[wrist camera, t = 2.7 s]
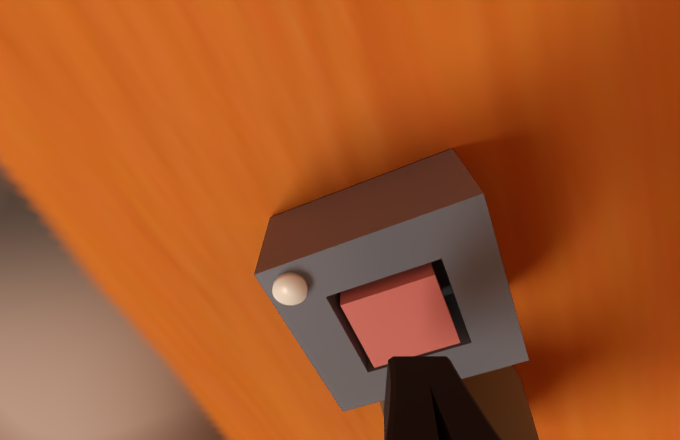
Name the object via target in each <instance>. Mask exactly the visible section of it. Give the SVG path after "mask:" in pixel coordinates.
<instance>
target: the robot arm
mask: <svg viewBox="0 0 680 440" xmlns="http://www.w3.org/2000/svg"><path fill="white" fill-rule="evenodd" d="M384 440H501V438H500V437H499V435H498V434H497V433H496V431H495V430H494V428H493V427H492V426H491V424H490V423H489V421H488V420H487V418H486V417H485V415H484V414H483V412H482V411H481V409H480V408H479V406H478V404H477V403H476V401H475V400H474V398H473V397H472V395H471V394H470V392H469V390H468V389H467V387H466V386H465V384H464V382H463V381H462V379H461V377H460V376H459V374H458V372H457V371H456V369H455V367H454V366H453V364H452V362H451V360H450V359H449V358H448V357H447V356H393V357H392V358H390V359H389V360H388V366H387V378H386V389H385V401H384Z"/></svg>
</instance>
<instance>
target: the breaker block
mask: <svg viewBox="0 0 680 440" xmlns="http://www.w3.org/2000/svg"><path fill="white" fill-rule="evenodd" d="M430 262H432V265H433V267H434V270H435V273H436V275H437V278H438V281H439V283H440V286H441V289H442V291H443V294H444V297H445V300H446V303H447V305H448V308H449V311H450V314H451V317H452V320H453V323H454V326H455V328H456V331H457V334H458V337H459V340H460V343H458V344H455V345H451V346H448V347H444V348H441V349H437V350H434V351H430V352H427V353H424V354H420V355H417V356H447V357H448V358H449V359H450V360H451V362H452V364H453V366H454V367H455V369H456V371H457V372H458V374H459V376H460V377H461V379H463V378H467V377H471V376H474V375H478V374H482V373H485V372H489V371H493V370H496V369H500V368H504V367H507V366H511V365H514V364H518V363H522V362H525V361H529V358H528V355H527V351H526V347H525V343H524V340H523V336H522V332H521V329H520V325H519V321H518V318H517V314H516V310H515V307H514V303H513V299H512V296H511V292H510V288H509V284H508V281H507V277H506V273H505V270H504V266H503V262H502V259H501V255H500V251H499V248H498V244H497V240H496V237H495V233H494V229H493V225H492V222H491V218H490V214H489V211H488V207H487V203H486V200H485V196H484V193H483V191H482V190H481V189H480V187H479V186H478V184H477V183H476V182H475V180H474V179H473V177H472V176H471V174H470V173H469V172H468V170H467V169H466V167H465V166H464V164H463V163H462V162H461V160H460V159H459V157H458V156H457V155H456V153H455V152H454V150H453V149H449V150H447V151H444V152H442V153H439V154H436V155H434V156H431V157H428V158H426V159H423V160H420V161H418V162H415V163H413V164H410V165H407V166H405V167H402V168H399V169H397V170H394V171H391V172H389V173H386V174H384V175H381V176H378V177H376V178H373V179H370V180H368V181H365V182H363V183H360V184H357V185H355V186H352V187H349V188H347V189H344V190H341V191H339V192H336V193H334V194H331V195H328V196H326V197H323V198H320V199H318V200H315V201H313V202H310V203H307V204H305V205H302V206H299V207H297V208H294V209H291V210H289V211H286V212H284V213H281V214H278V215H276V216H273V217H270V220H269V223H268V227H267V230H266V234H265V238H264V241H263V245H262V248H261V252H260V256H259V259H258V263H257V266H256V270H255V273H254V275H255V277H256V278H257V280H258V281H259V283H260V285H261V286H262V288H263V289H264V291H265V292H266V294H267V295H268V297H269V298H270V300H271V301H272V303H273V305H274V306H275V308H276V309H277V311H278V312H279V314H280V315H281V317H282V318H283V320H284V322H285V323H286V325H287V326H288V328H289V329H290V331H291V332H292V334H293V335H294V337H295V339H296V340H297V342H298V343H299V345H300V346H301V348H302V349H303V351H304V352H305V354H306V356H307V357H308V359H309V360H310V362H311V363H312V365H313V366H314V368H315V369H316V371H317V372H318V374H319V376H320V377H321V379H322V380H323V382H324V383H325V385H326V386H327V388H328V389H329V391H330V393H331V394H332V396H333V397H334V399H335V400H336V402H337V403H338V405H339V406H340V408H341V410H342V411H347V410H350V409H354V408H358V407H361V406H365V405H369V404H372V403H376V402H380V401H383V400H385V389H386V378H387V366H388V364H386V365H382V366H379V367H375V368H374V366H373V365H372V363H371V361H370V359H369V357H368V355H367V354H366V352H365V350H364V348H363V346H362V344H361V342H360V341H359V339H358V337H357V335H356V333H355V331H354V330H353V328H352V326H351V324H350V322H349V320H348V319H347V317H346V315H345V313H344V311H343V309H342V308H341V306H340V292H342V291H345V290H348V289H351V288H354V287H357V286H360V285H363V284H367V283H370V282H373V281H376V280H379V279H382V278H385V277H388V276H391V275H394V274H397V273H400V272H403V271H406V270H409V269H412V268H415V267H418V266H421V265H424V264H427V263H430Z"/></svg>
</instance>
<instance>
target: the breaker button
mask: <svg viewBox="0 0 680 440" xmlns="http://www.w3.org/2000/svg"><path fill="white" fill-rule="evenodd" d="M340 306H341V308H342V309H343V311H344V313H345V315H346V317H347V319H348V320H349V322H350V324H351V326H352V328H353V330H354V331H355V333H356V335H357V337H358V339H359V341H360V342H361V344H362V346H363V348H364V350H365V352H366V354H367V355H368V357H369V359H370V361H371V363H372V365H373V366H374V368H375V367H379V366H382V365H386V364H388V360H389V359H390V358H392V357H393V356H417V355H420V354H424V353H427V352H430V351H434V350H437V349H441V348H444V347H448V346H451V345H455V344H458V343H460V340H459V337H458V334H457V331H456V328H455V326H454V323H453V320H452V317H451V314H450V311H449V308H448V305H447V303H446V300H445V297H444V294H443V291H442V289H441V286H440V283H439V281H438V278H437V275H436V273H435V270H434V267H433V265H432V262H430V263H427V264H424V265H421V266H418V267H415V268H412V269H409V270H406V271H403V272H400V273H397V274H394V275H391V276H388V277H385V278H382V279H379V280H376V281H373V282H370V283H367V284H363V285H360V286H357V287H354V288H351V289H348V290H345V291H342V292H340Z"/></svg>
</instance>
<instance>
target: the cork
mask: <svg viewBox="0 0 680 440" xmlns="http://www.w3.org/2000/svg"><path fill="white" fill-rule="evenodd" d="M462 381H463V382H464V384H465V386H466V387H467V389H468V390H469V392H470V394H471V395H472V397H473V398H474V400H475V401H476V403H477V404H478V406H479V408H480V409H481V411H482V412H483V414H484V415H485V417H486V418H487V420H488V421H489V423H490V424H491V426H492V427H493V428H494V430H495V431H496V433H497V434H498V435H499V437H500V438H501V440H539V438H538V435H537V431H536V428H535V425H534V421H533V418H532V415H531V411H530V408H529V405H528V401H527V398H526V395H525V391H524V388H523V385H522V381H521V379H520V378H519V376H518V374H517V372H516V370H515V369H514V367H512V366H507V367H504V368H500V369H496V370H493V371H489V372H485V373H482V374H478V375H474V376H471V377H467V378H463V379H462ZM384 401H385V400H383V401H381V402H380V403H381V407H382V411H383V415H384Z"/></svg>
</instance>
